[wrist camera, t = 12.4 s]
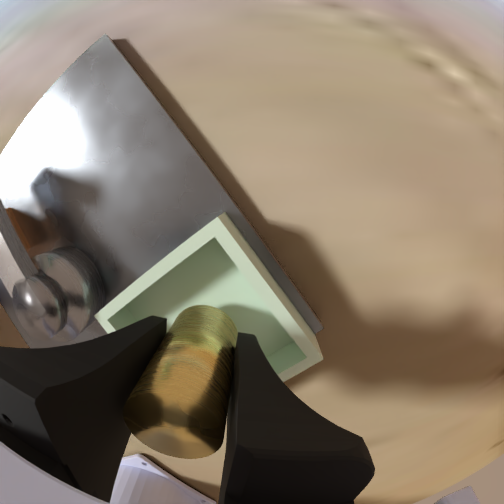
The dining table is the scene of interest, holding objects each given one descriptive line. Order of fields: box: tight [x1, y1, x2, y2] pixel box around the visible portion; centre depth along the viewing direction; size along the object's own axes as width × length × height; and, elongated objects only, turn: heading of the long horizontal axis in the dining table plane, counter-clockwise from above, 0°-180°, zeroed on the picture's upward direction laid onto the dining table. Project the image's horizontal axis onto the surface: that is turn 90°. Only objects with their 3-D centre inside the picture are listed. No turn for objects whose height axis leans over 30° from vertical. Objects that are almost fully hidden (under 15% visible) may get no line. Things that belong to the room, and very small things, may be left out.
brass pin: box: [123, 305, 238, 459], centre depth 9 cm, size 3×3×6 cm
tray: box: [94, 212, 324, 382], centre depth 12 cm, size 7×7×2 cm
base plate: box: [0, 34, 324, 348], centre depth 11 cm, size 19×17×4 cm
